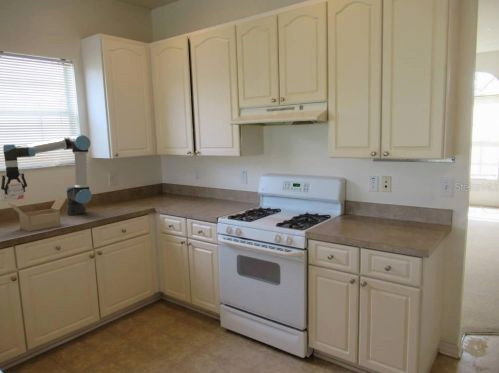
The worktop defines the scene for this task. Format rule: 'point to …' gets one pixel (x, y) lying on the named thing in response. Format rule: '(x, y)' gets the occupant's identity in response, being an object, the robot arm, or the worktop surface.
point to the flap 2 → (58, 203)
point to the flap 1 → (17, 209)
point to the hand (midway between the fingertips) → (15, 197)
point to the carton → (40, 220)
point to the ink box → (15, 191)
